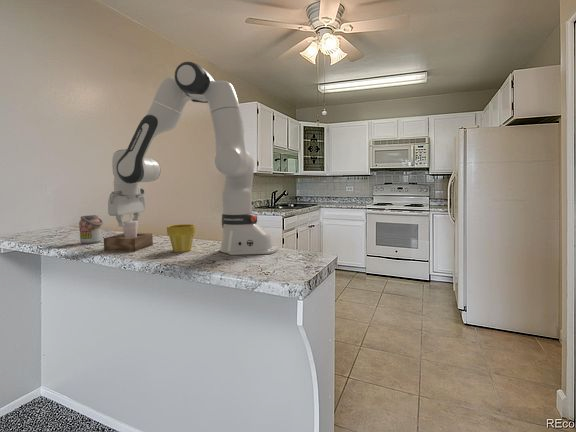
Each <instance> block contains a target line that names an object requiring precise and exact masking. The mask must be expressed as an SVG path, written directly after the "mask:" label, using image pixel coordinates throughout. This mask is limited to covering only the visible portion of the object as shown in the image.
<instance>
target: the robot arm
mask: <svg viewBox="0 0 576 432" xmlns="http://www.w3.org/2000/svg"><path fill="white" fill-rule="evenodd" d="M238 99H239V98H238V97H237V93H236V90H235V88H234V86H233V85H232V83H231V82H229V81H226V80H216V79H215V78H214V77H213V76H212V75H211V74H210V73H209V71H207V70H206V69H205V68H203V67H202V66H201V65H199V64H198V63H195V62H192V61H183V62H181V63H179V64H178V65H177V67H176V68H175V71H174V77H172V76H170V77H169V76H167V77H165V78H164V79H162V81H161V82H160V84H159V86H158V88H157V90H156V92H155V94H154V97H153V99H152V102H151V105H150V107H149V109H148V111H147V113H146V114H145V116H144V117H143V118H142V119H141V120H140V122H139V124H138V125H137V127H136V129H135V132H134V134H133V136H132V138H131V140H130V142H129V144H128V146H127V148H126V149H119V150H116V151H115V152H114V153H113V154H112V159H111V162H112V163H111V168H112V174H113V191H111V193H110V194H109V196H108V199H107V201H108V202H107V214H108V215H109V216H110V217H115V220H116V221H117V223H118V227H121V228H123V226H125V222H123V221H124V220H123V218H124V216H125V215H130V214H131V215H132V214H133V219H132V218H131V219H132V221H138V222H139V218H140V213H142V212H143V213H144V212H145V210H146V196H145V195H146V190H145V189H144V188H142V187H141V186H140V185H139V183H150V182H154V181H157V180H158V179H159V177H160V175H161V166H160V164H159V162H158V161H157V160H155V159H153V158H151V157H147V156H146V155H147V153H148V150H149V149H150V146H151V144H152V142H153V141H154V139H155V138H156V137H157V136H159V135H161V134H163V133H165V132H169V131H171V130H173V129H175V128H176V126H177V125H178V123H179V122H180V120H181V116H182V115H183V113H184V112H183V111H184V109H185V106H186V104H187V102H189V101H191V102H193V103H202V104H203V103H204V104H208V106H209V111H210V115H211V116H210V117H211V121H212V125H213V126H212V127H213V130H214V137H215V139H214V140H215V156H214V165H215V168H216V169H217V171H218V172H219V173H221V174H222V175H223V176H225V181H224V186H223V187H224V188H223V189H222V190H223V191H222V193H221V194H222V214H221V227H222V236H221V238H222V239H221V243H220V248H219V251H220V252H222V253H226V254H228V255H231V256H236V255H237V256H238V255H239V256H240V255H241V256H242V255H269V254H274V253H276V252H277V251H278V249H279V247H278V245H277V244H273V238H272V235H271V233H270V232H269V231H268V230H267V229H265V228H264V227H262V226H261V225H260V224H259V223H258V214H257V215H256V214H254V213H253V207H252V195H253V194H252V193H253V190H252V189H253V184H254V183H253V182H254V171H255V170H254V169H255V160H254V158H253V156H252V154H250V153H249V151H247V150H246V146H245V145H246V144H245V127H244V126H245V125H244V121H243V115H242V112H241V106H240V103H239V100H238Z"/></svg>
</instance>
